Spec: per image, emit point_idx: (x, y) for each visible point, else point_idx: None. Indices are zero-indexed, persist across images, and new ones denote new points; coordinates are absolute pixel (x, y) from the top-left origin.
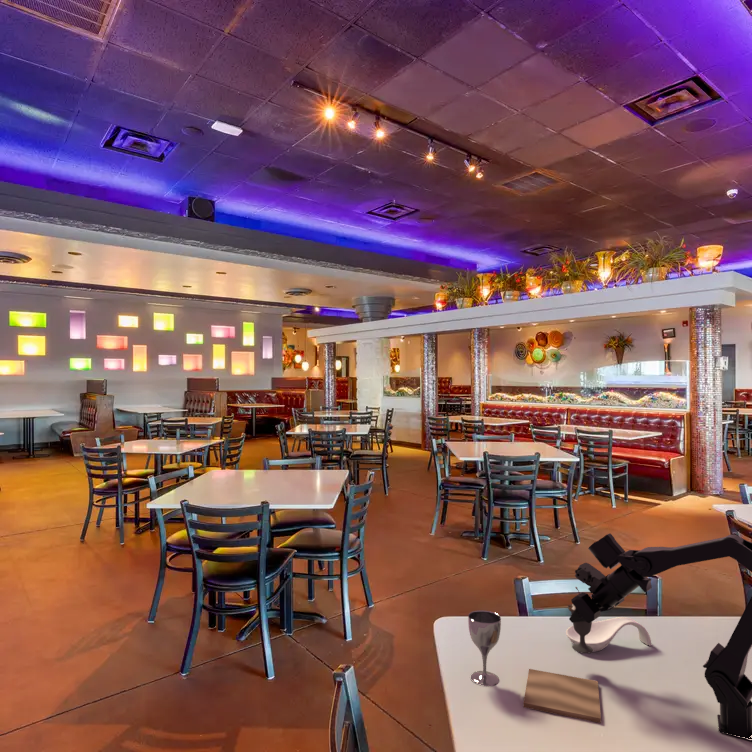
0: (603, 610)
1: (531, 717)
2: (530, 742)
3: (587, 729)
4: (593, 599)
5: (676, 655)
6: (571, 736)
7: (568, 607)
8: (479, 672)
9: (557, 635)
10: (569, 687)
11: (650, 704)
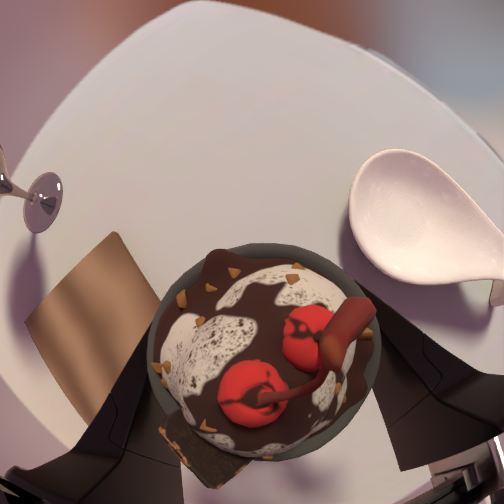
0: (390, 437)
1: (26, 348)
2: (5, 377)
3: (78, 430)
4: (425, 399)
5: (488, 356)
6: (49, 416)
7: (187, 275)
8: (43, 182)
9: (366, 133)
10: (127, 356)
11: (256, 472)
